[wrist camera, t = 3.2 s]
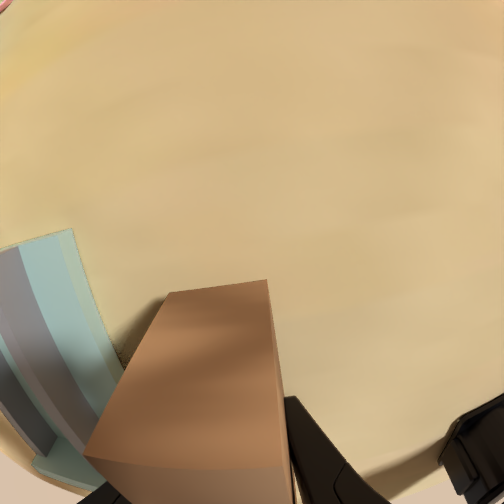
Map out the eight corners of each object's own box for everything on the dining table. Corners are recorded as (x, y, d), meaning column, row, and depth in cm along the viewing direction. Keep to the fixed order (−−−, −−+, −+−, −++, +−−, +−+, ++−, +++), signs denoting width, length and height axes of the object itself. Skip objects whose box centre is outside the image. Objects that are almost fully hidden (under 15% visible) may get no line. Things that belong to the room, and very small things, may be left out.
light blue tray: (71, 228, 10) (2, 263, 6) (169, 449, 14) (155, 505, 10) (-46, 264, 10) (-89, 289, 6) (40, 428, 14) (18, 463, 10)
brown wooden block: (266, 279, 9) (282, 465, 3) (290, 440, 11) (302, 557, 5) (169, 292, 9) (81, 454, 3) (224, 445, 11) (213, 560, 5)
